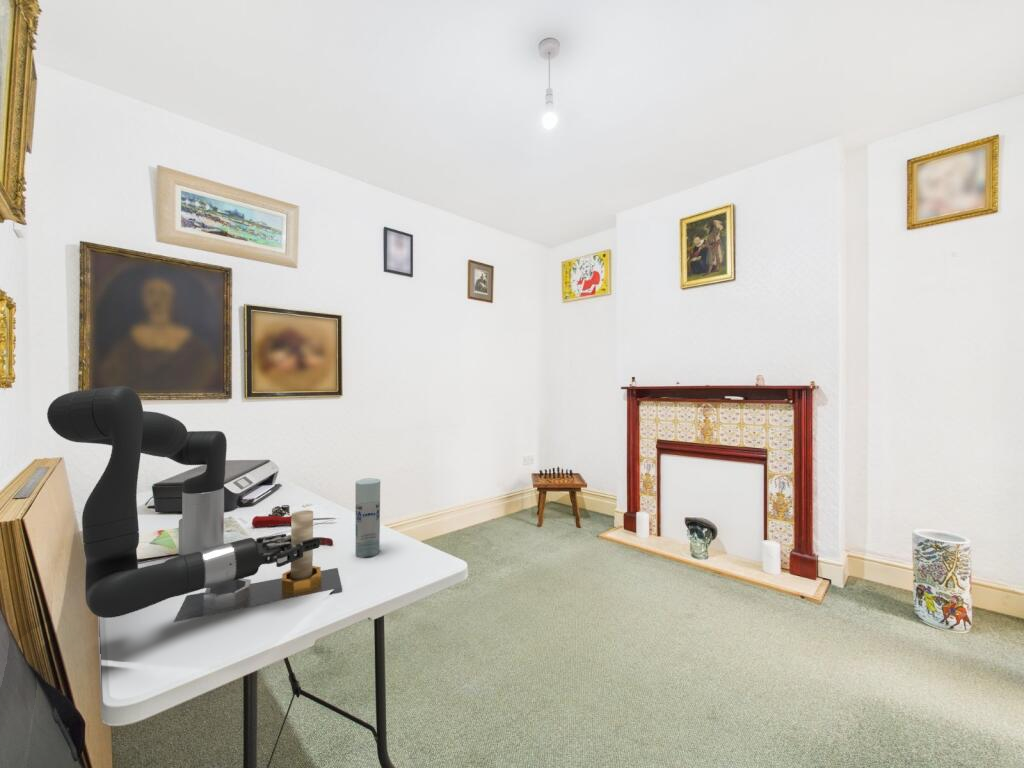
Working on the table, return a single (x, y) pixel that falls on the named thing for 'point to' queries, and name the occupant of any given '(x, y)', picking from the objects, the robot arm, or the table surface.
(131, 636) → the table surface
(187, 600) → the grey board
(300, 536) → the peg
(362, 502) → the spray paint can
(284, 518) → the screwdriver
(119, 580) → the robot arm
